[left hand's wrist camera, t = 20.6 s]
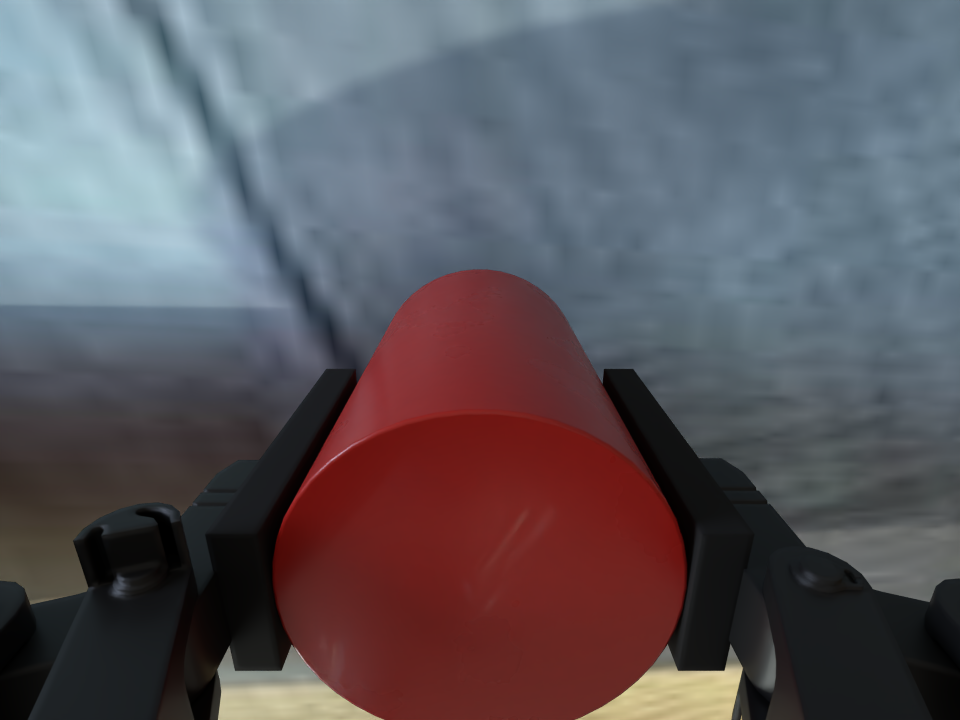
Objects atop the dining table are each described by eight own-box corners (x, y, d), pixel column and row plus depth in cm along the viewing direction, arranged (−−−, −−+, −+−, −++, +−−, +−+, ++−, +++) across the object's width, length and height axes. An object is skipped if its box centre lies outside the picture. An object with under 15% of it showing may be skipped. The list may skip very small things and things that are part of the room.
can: (546, 240, 16) (638, 350, 7) (597, 420, 18) (721, 692, 9) (351, 305, 17) (191, 485, 8) (422, 471, 19) (367, 772, 10)
